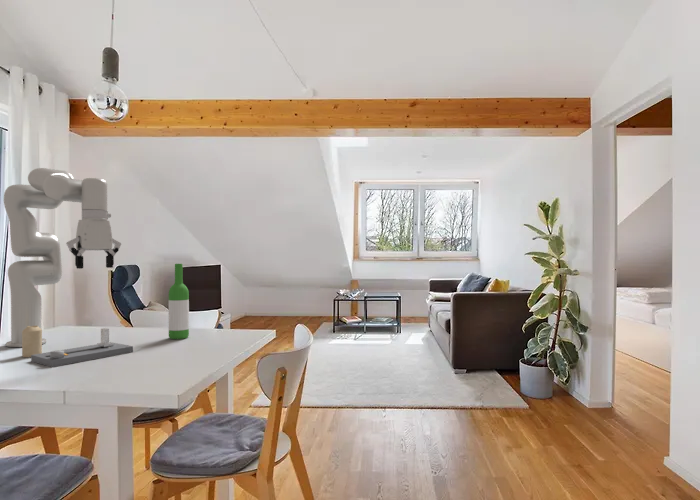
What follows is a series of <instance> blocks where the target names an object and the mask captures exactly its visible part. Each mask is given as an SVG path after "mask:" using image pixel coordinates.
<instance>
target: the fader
mask: <svg viewBox="0 0 700 500" xmlns="http://www.w3.org/2000/svg"><path fill="white" fill-rule="evenodd" d="M109 342H110V328H108V327H107V328H106V327H105V328H104V327H103V328H100V342H98V343H96V344H97V346H102V347H107V346H112V345H113V343H114V342H113V343H109Z"/></svg>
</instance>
